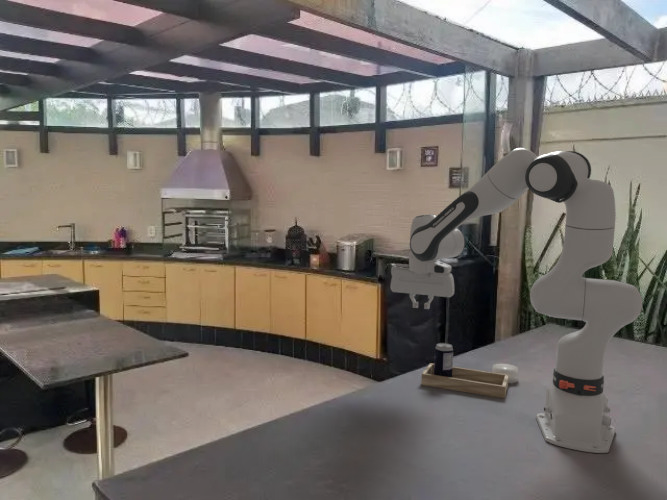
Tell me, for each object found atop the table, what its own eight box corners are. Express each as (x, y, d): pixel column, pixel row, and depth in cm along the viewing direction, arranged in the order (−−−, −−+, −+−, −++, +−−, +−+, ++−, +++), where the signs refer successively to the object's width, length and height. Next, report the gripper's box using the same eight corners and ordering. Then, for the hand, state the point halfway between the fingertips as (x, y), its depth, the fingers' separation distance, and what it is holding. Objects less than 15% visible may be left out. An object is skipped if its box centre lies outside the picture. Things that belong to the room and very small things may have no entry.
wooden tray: (504, 398, 155) (505, 387, 154) (421, 384, 164) (421, 374, 164) (508, 385, 166) (508, 374, 165) (429, 373, 175) (430, 363, 175)
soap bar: (516, 385, 166) (517, 373, 166) (490, 381, 170) (491, 369, 169) (518, 377, 174) (519, 365, 173) (493, 373, 177) (494, 362, 176)
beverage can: (450, 379, 170) (452, 343, 169) (452, 385, 165) (454, 348, 163) (432, 378, 171) (434, 342, 170) (434, 384, 165) (436, 347, 164)
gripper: (388, 264, 168) (387, 306, 169) (452, 269, 160) (450, 313, 162) (394, 262, 174) (392, 303, 175) (456, 266, 166) (454, 309, 167)
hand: (421, 308), depth 168 cm, fingers open, 2 cm apart
